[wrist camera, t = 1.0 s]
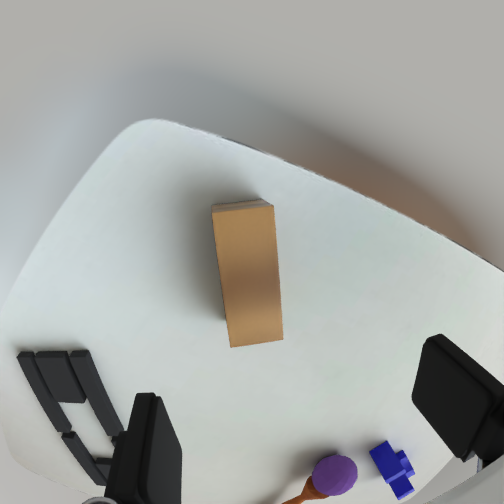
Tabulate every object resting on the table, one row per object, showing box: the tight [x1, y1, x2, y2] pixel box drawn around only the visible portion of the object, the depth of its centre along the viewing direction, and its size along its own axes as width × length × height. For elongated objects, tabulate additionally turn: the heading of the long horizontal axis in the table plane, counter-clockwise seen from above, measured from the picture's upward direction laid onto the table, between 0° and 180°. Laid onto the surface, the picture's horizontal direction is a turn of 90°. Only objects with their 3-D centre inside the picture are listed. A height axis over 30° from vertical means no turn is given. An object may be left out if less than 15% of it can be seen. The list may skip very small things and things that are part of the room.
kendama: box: [282, 455, 357, 504], centre depth 33 cm, size 6×6×20 cm
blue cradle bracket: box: [369, 441, 415, 500], centre depth 34 cm, size 12×4×6 cm, turn 30°
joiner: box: [211, 199, 283, 348], centre depth 23 cm, size 10×4×4 cm, turn 5°
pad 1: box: [17, 350, 124, 436], centre depth 26 cm, size 11×9×1 cm
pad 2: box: [61, 432, 118, 486], centre depth 29 cm, size 11×9×1 cm
